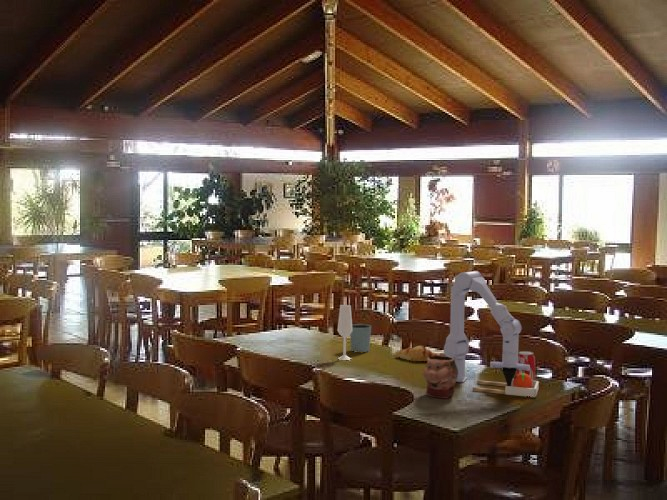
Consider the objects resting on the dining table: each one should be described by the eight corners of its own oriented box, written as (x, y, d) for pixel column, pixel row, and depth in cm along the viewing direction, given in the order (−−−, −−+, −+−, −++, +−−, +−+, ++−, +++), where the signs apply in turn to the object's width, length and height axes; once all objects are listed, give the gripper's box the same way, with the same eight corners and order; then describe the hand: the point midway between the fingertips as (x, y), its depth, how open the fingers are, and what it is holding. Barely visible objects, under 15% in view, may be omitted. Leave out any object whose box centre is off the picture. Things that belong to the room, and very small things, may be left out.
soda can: (536, 385, 299) (536, 354, 298) (517, 384, 300) (517, 354, 299) (533, 380, 306) (534, 350, 305) (515, 380, 307) (515, 350, 306)
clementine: (532, 394, 284) (533, 375, 284) (513, 393, 286) (513, 374, 285) (531, 389, 292) (532, 371, 292) (512, 388, 293) (513, 370, 293)
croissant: (393, 366, 345) (390, 352, 341) (400, 352, 353) (397, 338, 349) (439, 370, 336) (436, 355, 332) (444, 356, 344) (442, 341, 340)
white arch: (505, 394, 284) (505, 386, 284) (509, 386, 297) (509, 378, 297) (535, 397, 281) (536, 389, 280) (538, 388, 293) (538, 381, 293)
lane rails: (472, 390, 288) (472, 387, 288) (477, 383, 301) (477, 380, 301) (504, 394, 285) (505, 390, 284) (508, 386, 297) (509, 383, 297)
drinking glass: (374, 350, 361) (375, 325, 361) (363, 354, 353) (364, 328, 352) (356, 348, 367) (356, 323, 366) (345, 351, 358) (345, 326, 357)
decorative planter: (431, 386, 294) (432, 350, 293) (463, 390, 290) (464, 353, 289) (417, 398, 276) (418, 360, 275) (450, 402, 271) (451, 363, 270)
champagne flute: (352, 357, 344) (353, 304, 343) (351, 361, 338) (352, 306, 336) (337, 357, 345) (338, 304, 343) (336, 360, 338) (337, 306, 337)
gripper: (489, 352, 288) (488, 388, 289) (529, 355, 283) (527, 392, 284) (491, 349, 295) (490, 383, 296) (530, 352, 290) (529, 387, 291)
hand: (509, 387), depth 290 cm, fingers closed
